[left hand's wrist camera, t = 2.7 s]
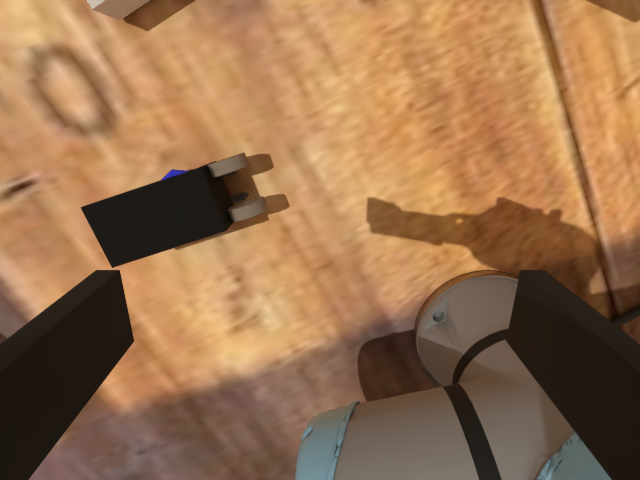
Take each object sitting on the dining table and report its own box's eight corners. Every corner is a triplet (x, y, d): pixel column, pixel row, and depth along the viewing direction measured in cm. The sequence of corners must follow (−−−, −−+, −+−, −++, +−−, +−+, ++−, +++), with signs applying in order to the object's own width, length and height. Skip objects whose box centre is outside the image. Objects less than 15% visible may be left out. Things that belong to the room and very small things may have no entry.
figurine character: (246, 141, 39) (109, 191, 39) (239, 147, 32) (72, 208, 32) (270, 201, 41) (140, 248, 41) (268, 219, 34) (112, 276, 34)
